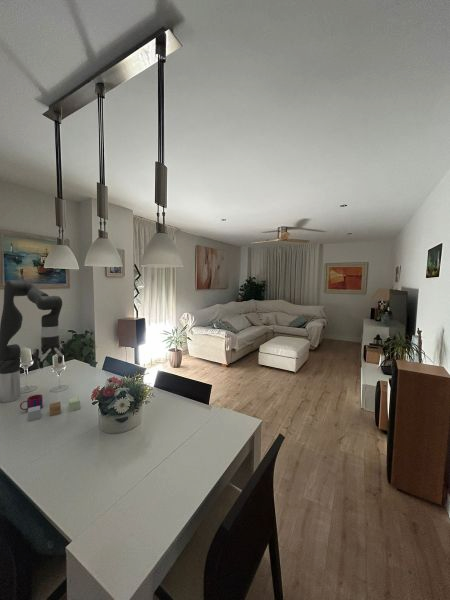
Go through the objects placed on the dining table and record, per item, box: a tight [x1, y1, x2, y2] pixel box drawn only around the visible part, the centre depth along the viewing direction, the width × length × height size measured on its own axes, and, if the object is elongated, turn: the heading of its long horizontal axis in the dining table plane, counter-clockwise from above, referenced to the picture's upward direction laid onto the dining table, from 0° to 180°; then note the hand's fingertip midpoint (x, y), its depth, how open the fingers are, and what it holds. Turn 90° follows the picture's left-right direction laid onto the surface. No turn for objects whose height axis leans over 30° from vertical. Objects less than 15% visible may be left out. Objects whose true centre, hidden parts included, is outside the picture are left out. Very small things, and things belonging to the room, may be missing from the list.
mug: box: [19, 394, 43, 411], centre depth 134 cm, size 7×10×7 cm
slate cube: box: [27, 406, 41, 422], centre depth 126 cm, size 5×5×5 cm
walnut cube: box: [48, 401, 62, 417], centre depth 132 cm, size 5×5×5 cm
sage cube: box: [68, 396, 81, 412], centre depth 137 cm, size 5×5×5 cm
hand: (50, 365), depth 123 cm, fingers open, 8 cm apart
